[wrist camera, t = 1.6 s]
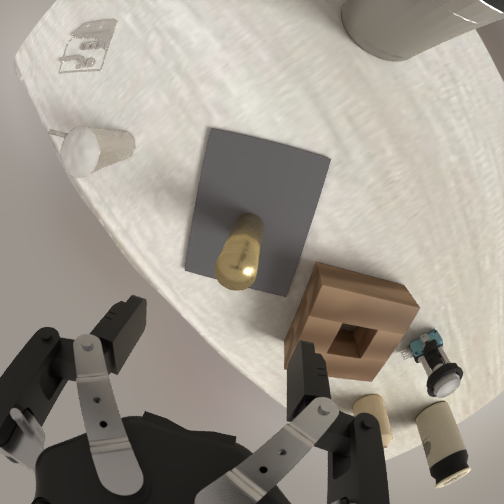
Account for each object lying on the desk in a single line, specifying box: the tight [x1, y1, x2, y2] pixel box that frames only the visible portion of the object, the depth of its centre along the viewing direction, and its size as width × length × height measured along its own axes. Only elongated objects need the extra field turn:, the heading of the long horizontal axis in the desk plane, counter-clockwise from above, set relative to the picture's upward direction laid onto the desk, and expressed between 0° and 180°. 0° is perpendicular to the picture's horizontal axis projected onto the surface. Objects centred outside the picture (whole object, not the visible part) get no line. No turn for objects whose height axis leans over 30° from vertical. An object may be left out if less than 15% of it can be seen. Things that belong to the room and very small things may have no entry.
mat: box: [185, 128, 331, 297], centre depth 28 cm, size 16×12×1 cm
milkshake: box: [48, 127, 136, 178], centre depth 22 cm, size 4×5×10 cm
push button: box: [401, 330, 463, 398], centre depth 29 cm, size 7×5×10 cm
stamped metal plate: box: [59, 19, 118, 74], centre depth 21 cm, size 8×7×2 cm
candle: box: [353, 395, 393, 449], centre depth 35 cm, size 6×6×10 cm
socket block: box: [284, 262, 420, 382], centre depth 30 cm, size 12×12×5 cm
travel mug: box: [416, 402, 471, 488], centre depth 33 cm, size 8×8×18 cm
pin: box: [214, 213, 264, 290], centre depth 24 cm, size 3×3×10 cm
